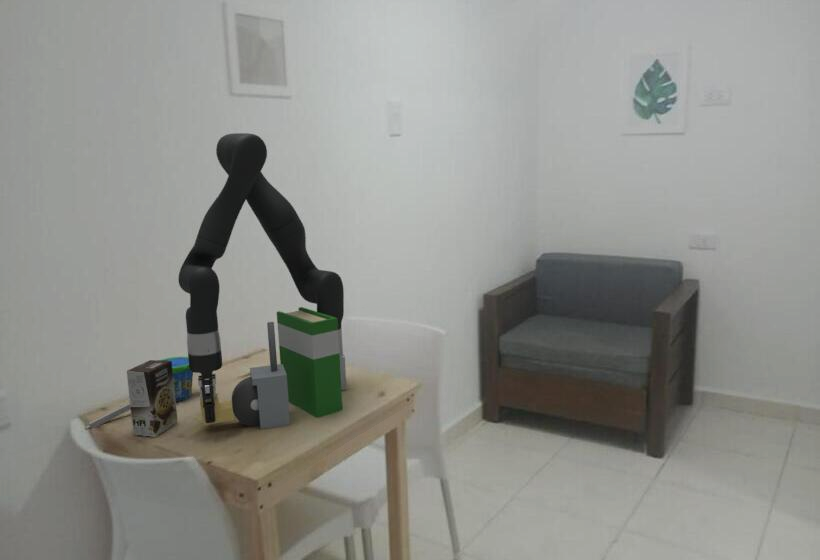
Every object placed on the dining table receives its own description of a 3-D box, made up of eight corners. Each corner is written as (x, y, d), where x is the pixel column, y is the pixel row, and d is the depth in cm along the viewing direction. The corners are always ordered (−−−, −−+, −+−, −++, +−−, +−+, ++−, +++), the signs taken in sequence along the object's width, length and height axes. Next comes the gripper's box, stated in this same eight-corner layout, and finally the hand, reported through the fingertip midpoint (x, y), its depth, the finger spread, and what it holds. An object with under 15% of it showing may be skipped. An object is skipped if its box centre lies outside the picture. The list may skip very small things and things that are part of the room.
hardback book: (283, 399, 178) (276, 311, 173) (307, 392, 182) (301, 307, 178) (317, 417, 164) (311, 323, 160) (342, 410, 169) (337, 318, 164)
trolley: (286, 411, 169) (279, 317, 164) (290, 424, 160) (283, 325, 156) (233, 418, 165) (224, 322, 161) (234, 432, 157) (225, 331, 152)
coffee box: (156, 438, 155) (148, 372, 152) (132, 435, 157) (124, 370, 154) (179, 422, 164) (172, 360, 161) (156, 420, 166) (149, 358, 163)
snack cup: (207, 387, 189) (204, 353, 187) (206, 400, 179) (203, 364, 177) (149, 395, 184) (145, 359, 183) (145, 408, 174) (140, 371, 173)
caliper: (162, 404, 177) (160, 382, 176) (164, 405, 177) (162, 383, 175) (84, 429, 162) (81, 405, 161) (86, 430, 162) (82, 406, 161)
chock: (233, 411, 163) (230, 390, 162) (234, 419, 158) (230, 397, 157) (203, 417, 161) (200, 396, 160) (203, 425, 156) (200, 403, 155)
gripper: (221, 355, 150) (227, 426, 153) (220, 340, 164) (226, 405, 167) (186, 359, 148) (193, 431, 151) (188, 343, 161) (194, 409, 165)
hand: (210, 417), depth 159 cm, fingers closed on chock, 5 cm apart
